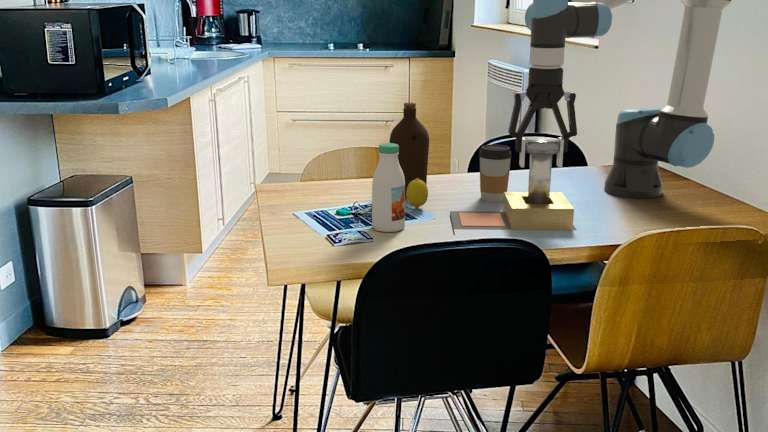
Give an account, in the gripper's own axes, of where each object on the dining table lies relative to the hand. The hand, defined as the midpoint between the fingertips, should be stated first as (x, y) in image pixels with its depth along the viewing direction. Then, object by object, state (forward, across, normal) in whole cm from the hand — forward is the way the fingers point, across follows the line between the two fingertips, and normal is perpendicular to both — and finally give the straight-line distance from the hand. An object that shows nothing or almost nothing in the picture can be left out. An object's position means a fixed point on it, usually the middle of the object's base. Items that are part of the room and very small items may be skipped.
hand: (540, 165), depth 175 cm
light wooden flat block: (+13, 0, 0) cm, 13 cm away
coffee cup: (+15, +8, -19) cm, 25 cm away
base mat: (+15, +6, 0) cm, 16 cm away
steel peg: (+8, 0, 0) cm, 8 cm away
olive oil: (+15, +30, -27) cm, 43 cm away
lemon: (+15, +28, -14) cm, 35 cm away
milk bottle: (+15, +35, +2) cm, 38 cm away
